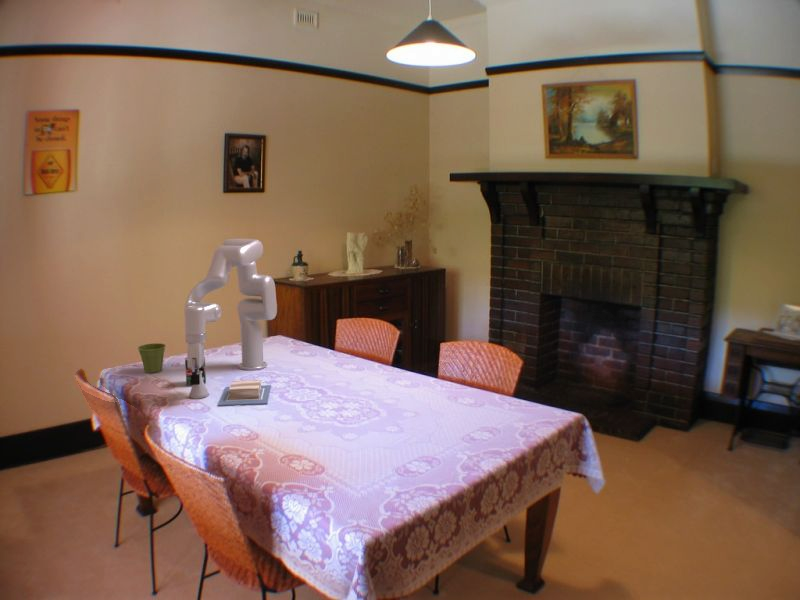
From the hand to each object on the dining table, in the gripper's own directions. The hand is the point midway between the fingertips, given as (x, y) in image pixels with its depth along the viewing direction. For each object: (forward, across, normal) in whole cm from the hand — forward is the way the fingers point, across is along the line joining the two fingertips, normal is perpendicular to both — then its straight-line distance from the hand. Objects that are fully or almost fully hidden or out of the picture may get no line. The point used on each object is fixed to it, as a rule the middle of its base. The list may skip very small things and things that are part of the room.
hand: (197, 381), depth 251 cm
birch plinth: (+6, +1, +18) cm, 19 cm away
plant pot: (+6, -39, -26) cm, 47 cm away
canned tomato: (+6, -18, -4) cm, 19 cm away
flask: (+7, -1, 0) cm, 7 cm away
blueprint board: (+6, +1, +18) cm, 19 cm away
